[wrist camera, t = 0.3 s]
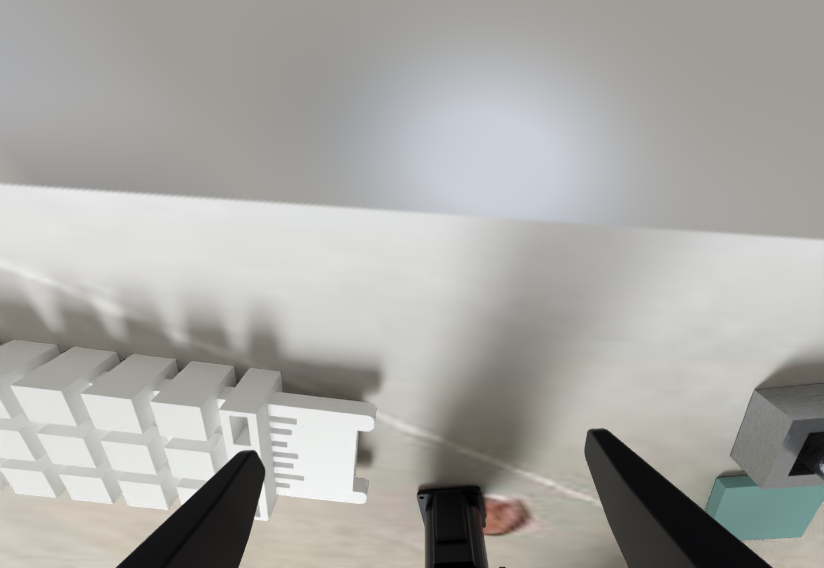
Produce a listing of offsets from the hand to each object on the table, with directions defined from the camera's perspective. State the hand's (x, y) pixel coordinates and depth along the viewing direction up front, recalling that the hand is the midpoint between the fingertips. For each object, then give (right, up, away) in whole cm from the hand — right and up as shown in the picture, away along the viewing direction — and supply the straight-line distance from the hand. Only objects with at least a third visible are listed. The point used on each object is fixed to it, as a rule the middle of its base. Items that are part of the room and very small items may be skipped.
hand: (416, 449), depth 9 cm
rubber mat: (+34, -17, +23) cm, 45 cm away
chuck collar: (+32, -7, +18) cm, 38 cm away
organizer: (-21, -7, +21) cm, 31 cm away
